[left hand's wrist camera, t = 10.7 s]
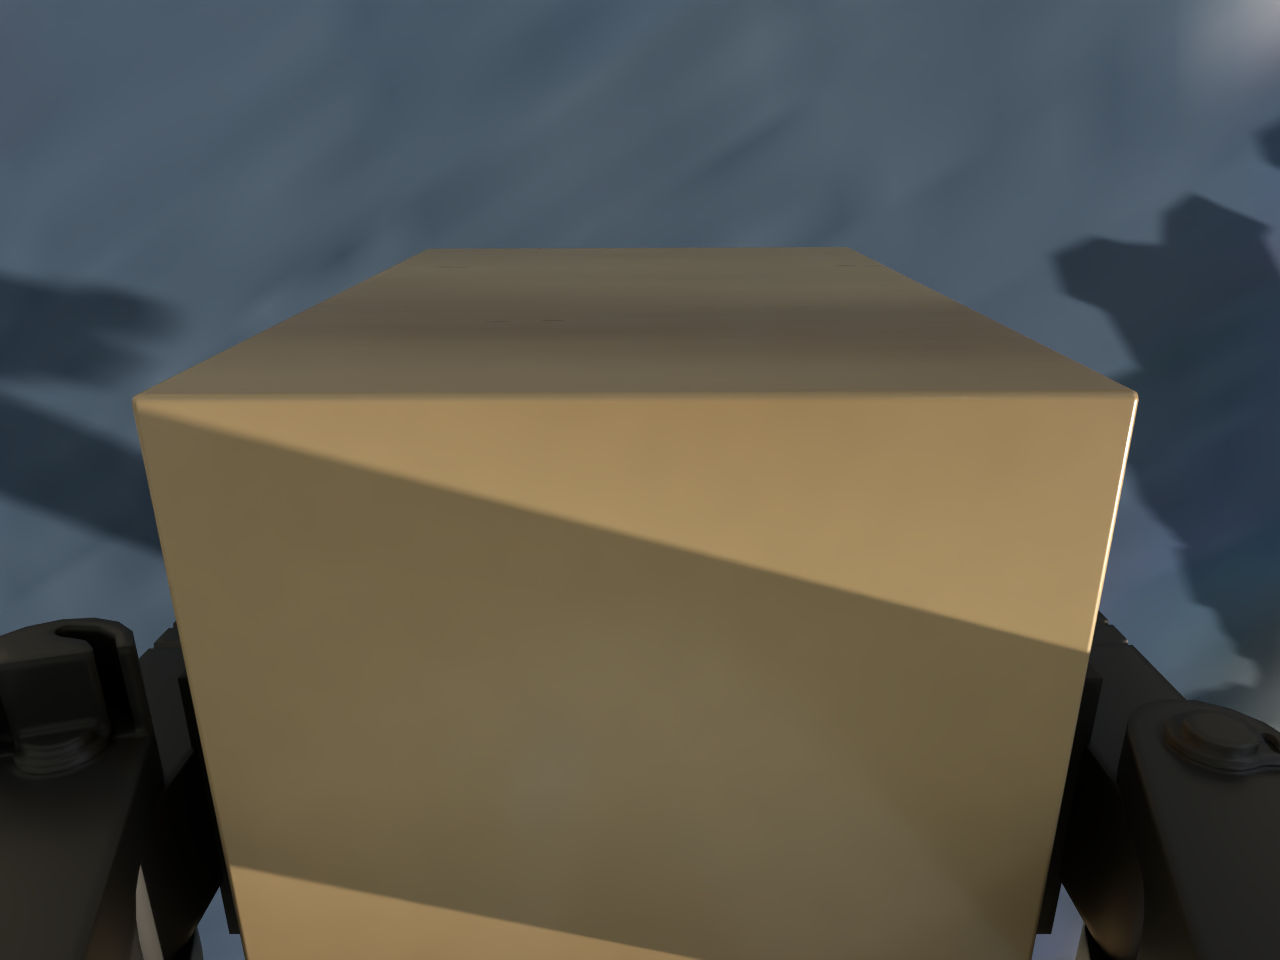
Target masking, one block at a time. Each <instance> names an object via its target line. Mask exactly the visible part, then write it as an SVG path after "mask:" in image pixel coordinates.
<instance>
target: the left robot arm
mask: <svg viewBox="0 0 1280 960" xmlns="http://www.w3.org/2000/svg"><path fill="white" fill-rule="evenodd" d="M1061 883H1062V884H1063V886H1064V887H1065V889H1066V891H1067V893H1068V894H1069V896H1070V898H1071V900H1072V901H1073V903H1074V905H1075V907H1076V908H1077V910H1078V912H1079V914H1080V915H1081V917H1082V919H1083V921H1084V923H1083V928H1082V932H1081V937H1080V941H1079V946H1078V950H1077V955H1076V959H1075V960H1280V732H1278V731H1277V730H1275V729H1274V728H1272V727H1270V726H1269V725H1267V724H1266V723H1264V722H1261V721H1259V720H1257V719H1254V718H1252V717H1249V716H1247V715H1245V714H1242V713H1240V712H1237V711H1235V710H1232V709H1229V708H1225V707H1221V706H1217V705H1212V704H1208V703H1204V702H1200V701H1191V700H1186V699H1185V698H1184V697H1183V696H1182V695H1181V694H1180V693H1179V692H1178V691H1177V690H1176V689H1175V688H1174V687H1173V686H1172V685H1171V684H1170V683H1169V682H1168V681H1167V680H1166V679H1165V678H1164V677H1163V676H1162V675H1161V674H1160V673H1159V672H1158V671H1157V670H1156V669H1155V668H1154V667H1153V666H1152V664H1151V663H1150V662H1149V661H1148V660H1147V659H1146V658H1145V657H1144V656H1143V655H1142V654H1141V653H1140V652H1139V651H1138V650H1137V649H1136V648H1135V647H1134V646H1133V645H1128V643H1127V639H1126V638H1125V637H1124V636H1123V635H1122V634H1121V633H1120V632H1119V631H1118V630H1117V629H1116V628H1115V627H1114V626H1113V625H1108V620H1107V619H1106V618H1105V616H1104V615H1103V614H1102V613H1101V612H1100V611H1099V610H1098V614H1097V619H1096V625H1095V630H1094V635H1093V640H1092V645H1091V651H1090V656H1089V661H1088V666H1087V672H1086V677H1085V682H1084V687H1083V692H1082V698H1081V703H1080V708H1079V713H1078V719H1077V724H1076V729H1075V734H1074V739H1073V745H1072V750H1071V755H1070V760H1069V766H1068V771H1067V776H1066V781H1065V786H1064V792H1063V797H1062V802H1061V807H1060V812H1059V818H1058V823H1057V828H1056V833H1055V839H1054V844H1053V849H1052V854H1051V859H1050V865H1049V870H1048V875H1047V880H1046V886H1045V891H1044V896H1043V901H1042V906H1041V912H1040V917H1039V922H1038V927H1037V932H1036V934H1051V932H1052V927H1053V922H1054V917H1055V912H1056V907H1057V902H1058V897H1059V893H1060V888H1061ZM219 886H220V889H221V894H222V899H223V904H224V909H225V914H226V919H227V924H228V928H229V933H230V934H240V931H239V926H238V922H237V917H236V912H235V907H234V902H233V897H232V892H231V887H230V882H229V877H228V872H227V868H226V863H225V858H224V853H223V848H222V843H221V838H220V833H219V828H218V823H217V818H216V814H215V809H214V804H213V799H212V794H211V789H210V784H209V779H208V774H207V769H206V765H205V760H204V755H203V750H202V745H201V740H200V735H199V730H198V725H197V720H196V715H195V711H194V706H193V701H192V696H191V691H190V686H189V681H188V676H187V671H186V666H185V661H184V657H183V652H182V647H181V642H180V637H179V632H178V627H177V622H176V621H175V622H174V623H173V628H168V629H167V630H166V631H165V633H164V634H163V635H162V636H161V637H160V638H159V639H158V640H157V641H156V642H155V643H154V648H153V649H148V650H147V651H146V652H145V653H144V654H143V655H142V656H141V657H140V658H138V654H137V649H136V645H135V640H134V636H133V631H131V630H130V629H128V628H127V627H125V626H124V625H123V624H121V623H120V622H117V621H111V620H105V619H99V618H79V619H62V620H57V621H52V622H47V623H42V624H37V625H32V626H27V627H24V628H21V629H19V630H16V631H13V632H10V633H7V634H4V635H1V636H0V960H203V952H202V946H201V941H200V937H199V932H198V928H197V925H198V924H199V922H200V920H201V918H202V916H203V915H204V913H205V911H206V909H207V908H208V906H209V904H210V902H211V901H212V899H213V897H214V895H215V893H216V892H217V890H218V888H219Z"/></svg>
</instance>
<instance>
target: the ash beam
mask: <svg viewBox="0 0 1280 960" xmlns="http://www.w3.org/2000/svg"><path fill="white" fill-rule="evenodd" d="M1137 405H1138V394H1137V392H1135V391H1133V390H1131V389H1129V388H1127V387H1125V386H1123V385H1121V384H1119V383H1117V382H1115V381H1113V380H1111V379H1109V378H1107V377H1105V376H1103V375H1101V374H1099V373H1097V372H1095V371H1093V370H1091V369H1089V368H1087V367H1085V366H1083V365H1081V364H1079V363H1077V362H1075V361H1073V360H1071V359H1069V358H1067V357H1065V356H1063V355H1062V354H1060V353H1058V352H1056V351H1054V350H1052V349H1050V348H1048V347H1046V346H1044V345H1042V344H1040V343H1038V342H1036V341H1034V340H1032V339H1030V338H1028V337H1026V336H1024V335H1022V334H1020V333H1018V332H1016V331H1014V330H1012V329H1010V328H1008V327H1006V326H1004V325H1002V324H1000V323H998V322H996V321H994V320H992V319H990V318H988V317H986V316H984V315H982V314H980V313H978V312H976V311H974V310H972V309H970V308H968V307H966V306H964V305H962V304H960V303H958V302H956V301H954V300H952V299H950V298H948V297H946V296H944V295H942V294H940V293H938V292H936V291H934V290H932V289H930V288H928V287H926V286H924V285H922V284H920V283H918V282H916V281H914V280H912V279H910V278H908V277H906V276H904V275H902V274H900V273H898V272H896V271H894V270H892V269H890V268H888V267H886V266H884V265H882V264H880V263H878V262H876V261H874V260H872V259H870V258H868V257H866V256H864V255H862V254H860V253H858V252H856V251H854V250H852V249H850V248H848V247H772V248H527V249H427V250H425V251H423V252H421V253H419V254H417V255H415V256H413V257H411V258H409V259H407V260H405V261H403V262H401V263H399V264H397V265H395V266H393V267H391V268H389V269H387V270H385V271H383V272H381V273H379V274H377V275H375V276H373V277H371V278H369V279H367V280H365V281H363V282H361V283H359V284H357V285H355V286H353V287H351V288H349V289H347V290H345V291H343V292H341V293H339V294H337V295H335V296H333V297H331V298H329V299H327V300H325V301H323V302H321V303H319V304H317V305H315V306H313V307H311V308H309V309H307V310H305V311H303V312H301V313H299V314H297V315H295V316H293V317H291V318H289V319H287V320H285V321H283V322H281V323H279V324H277V325H275V326H273V327H271V328H269V329H267V330H265V331H263V332H261V333H259V334H257V335H255V336H253V337H251V338H249V339H247V340H245V341H243V342H241V343H239V344H237V345H235V346H233V347H231V348H229V349H227V350H225V351H223V352H221V353H219V354H217V355H215V356H213V357H211V358H209V359H207V360H205V361H203V362H201V363H199V364H197V365H195V366H193V367H191V368H189V369H187V370H185V371H183V372H181V373H179V374H177V375H175V376H173V377H171V378H169V379H167V380H165V381H163V382H161V383H159V384H157V385H155V386H153V387H151V388H149V389H147V390H145V391H143V392H141V393H139V394H137V395H135V396H134V397H133V401H132V406H133V411H134V416H135V421H136V426H137V431H138V436H139V441H140V446H141V450H142V455H143V460H144V465H145V470H146V475H147V480H148V485H149V490H150V495H151V500H152V504H153V509H154V514H155V519H156V524H157V529H158V534H159V539H160V544H161V549H162V554H163V558H164V563H165V568H166V573H167V578H168V583H169V588H170V593H171V598H172V603H173V608H174V612H175V617H176V622H177V627H178V632H179V637H180V642H181V647H182V652H183V657H184V661H185V666H186V671H187V676H188V681H189V686H190V691H191V696H192V701H193V706H194V711H195V715H196V720H197V725H198V730H199V735H200V740H201V745H202V750H203V755H204V760H205V765H206V769H207V774H208V779H209V784H210V789H211V794H212V799H213V804H214V809H215V814H216V818H217V823H218V828H219V833H220V838H221V843H222V848H223V853H224V858H225V863H226V868H227V872H228V877H229V882H230V887H231V892H232V897H233V902H234V907H235V912H236V917H237V922H238V926H239V931H240V936H241V941H242V946H243V951H244V956H245V960H1031V959H1032V953H1033V948H1034V943H1035V938H1036V932H1037V927H1038V922H1039V917H1040V912H1041V906H1042V901H1043V896H1044V891H1045V886H1046V880H1047V875H1048V870H1049V865H1050V859H1051V854H1052V849H1053V844H1054V839H1055V833H1056V828H1057V823H1058V818H1059V812H1060V807H1061V802H1062V797H1063V792H1064V786H1065V781H1066V776H1067V771H1068V766H1069V760H1070V755H1071V750H1072V745H1073V739H1074V734H1075V729H1076V724H1077V719H1078V713H1079V708H1080V703H1081V698H1082V692H1083V687H1084V682H1085V677H1086V672H1087V666H1088V661H1089V656H1090V651H1091V645H1092V640H1093V635H1094V630H1095V625H1096V619H1097V614H1098V609H1099V604H1100V599H1101V593H1102V588H1103V583H1104V578H1105V572H1106V567H1107V562H1108V557H1109V552H1110V546H1111V541H1112V536H1113V531H1114V525H1115V520H1116V515H1117V510H1118V505H1119V499H1120V494H1121V489H1122V484H1123V479H1124V473H1125V468H1126V463H1127V458H1128V452H1129V447H1130V442H1131V437H1132V432H1133V426H1134V421H1135V416H1136V411H1137Z"/></svg>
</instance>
